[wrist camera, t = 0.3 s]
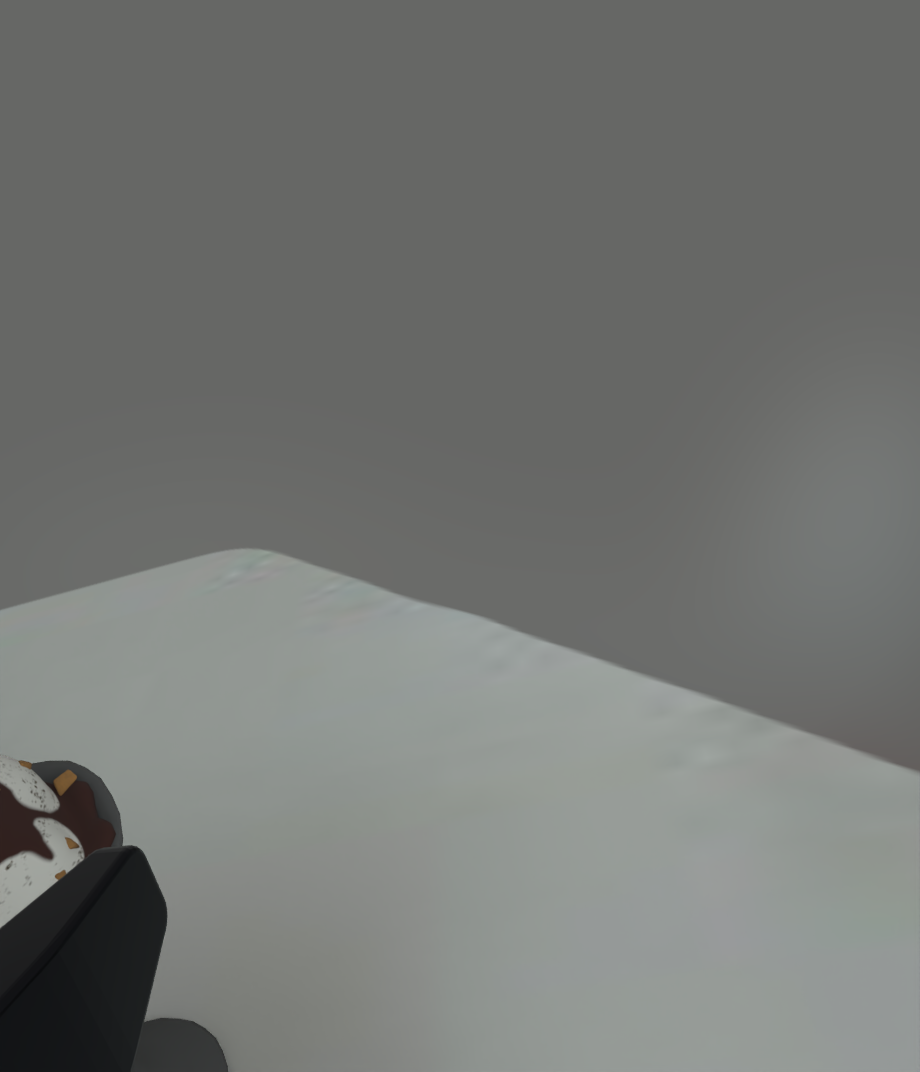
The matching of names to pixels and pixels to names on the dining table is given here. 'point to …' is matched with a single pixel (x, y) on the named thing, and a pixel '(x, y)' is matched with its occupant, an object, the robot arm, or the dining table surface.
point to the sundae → (57, 847)
